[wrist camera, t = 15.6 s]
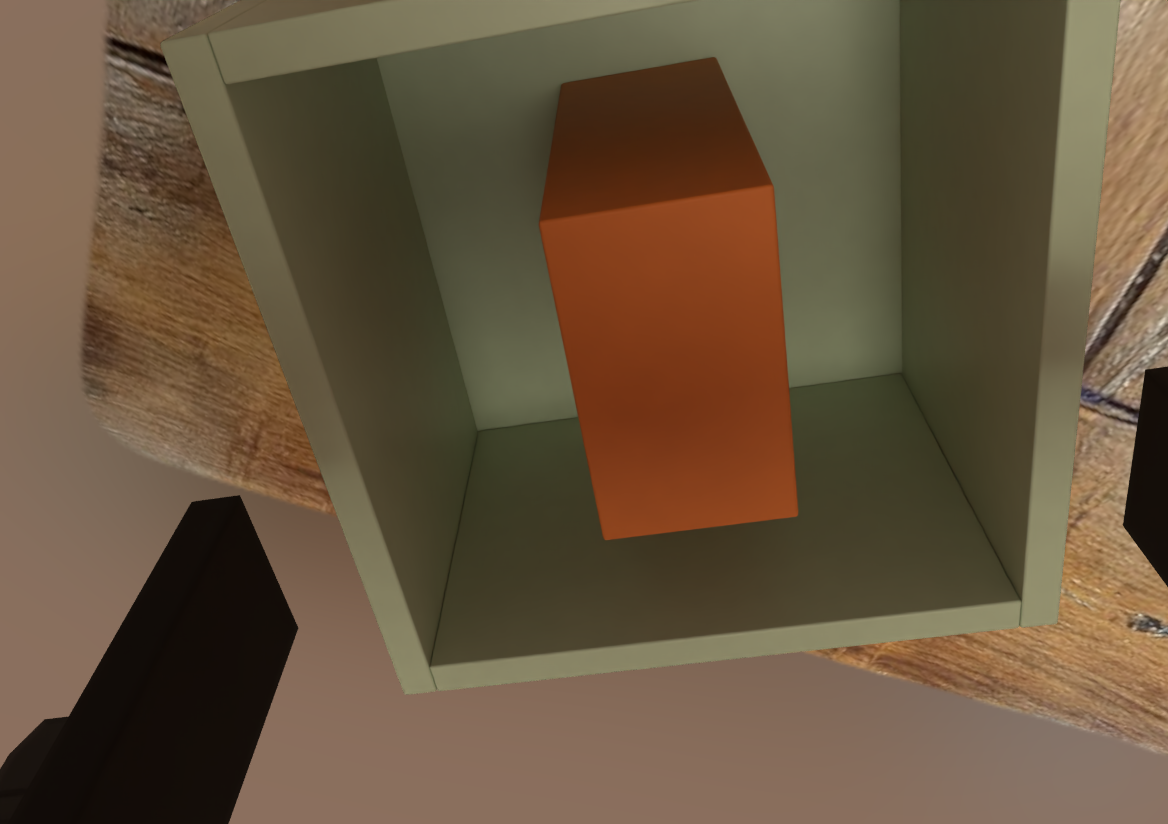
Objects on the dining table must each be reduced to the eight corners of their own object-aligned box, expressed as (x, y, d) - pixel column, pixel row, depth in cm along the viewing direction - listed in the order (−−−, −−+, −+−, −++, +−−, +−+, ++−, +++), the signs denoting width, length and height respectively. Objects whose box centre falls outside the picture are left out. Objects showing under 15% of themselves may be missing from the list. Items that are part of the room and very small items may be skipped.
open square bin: (461, 444, 32) (403, 696, 23) (323, -44, 24) (157, 42, 15) (923, 381, 30) (1058, 625, 21) (926, -160, 23) (1136, -140, 14)
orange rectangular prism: (604, 325, 29) (603, 542, 20) (560, 82, 25) (537, 221, 17) (741, 305, 28) (799, 517, 20) (716, 56, 25) (774, 184, 16)
